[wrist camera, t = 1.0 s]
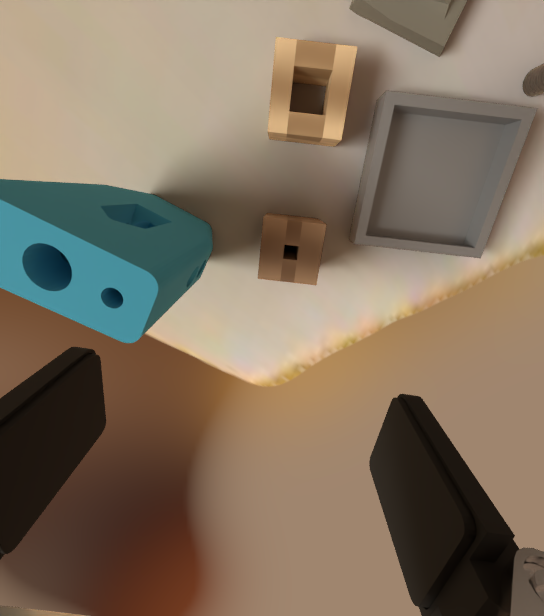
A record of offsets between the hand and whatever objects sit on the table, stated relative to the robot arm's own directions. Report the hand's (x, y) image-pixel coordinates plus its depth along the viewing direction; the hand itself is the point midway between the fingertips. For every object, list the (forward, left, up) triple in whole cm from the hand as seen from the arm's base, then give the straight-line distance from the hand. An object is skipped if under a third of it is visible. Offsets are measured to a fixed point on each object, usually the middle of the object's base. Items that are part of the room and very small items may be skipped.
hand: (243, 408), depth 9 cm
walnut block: (-1, +2, -28) cm, 28 cm away
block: (-1, -12, -28) cm, 31 cm away
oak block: (-15, +2, -28) cm, 32 cm away
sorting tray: (-9, +16, -28) cm, 33 cm away
